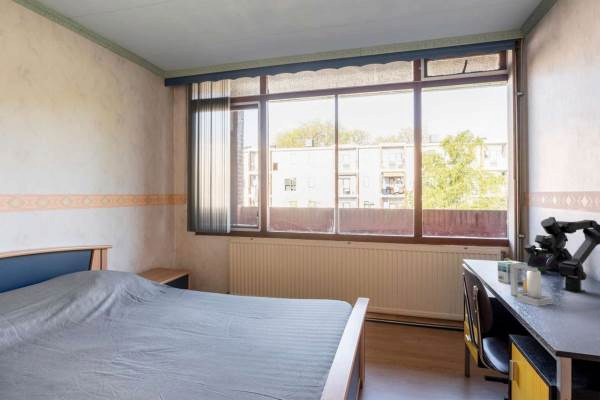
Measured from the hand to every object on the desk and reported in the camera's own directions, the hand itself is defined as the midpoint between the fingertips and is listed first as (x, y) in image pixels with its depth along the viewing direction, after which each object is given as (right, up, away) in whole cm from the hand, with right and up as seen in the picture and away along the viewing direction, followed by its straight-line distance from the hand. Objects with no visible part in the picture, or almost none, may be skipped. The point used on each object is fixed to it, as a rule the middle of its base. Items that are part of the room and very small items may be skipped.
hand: (537, 265), depth 149 cm
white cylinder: (-6, -15, -7) cm, 17 cm away
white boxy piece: (-3, -15, 0) cm, 15 cm away
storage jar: (+33, -14, +45) cm, 58 cm away
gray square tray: (-6, -15, -7) cm, 18 cm away
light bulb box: (+5, -15, +28) cm, 32 cm away
